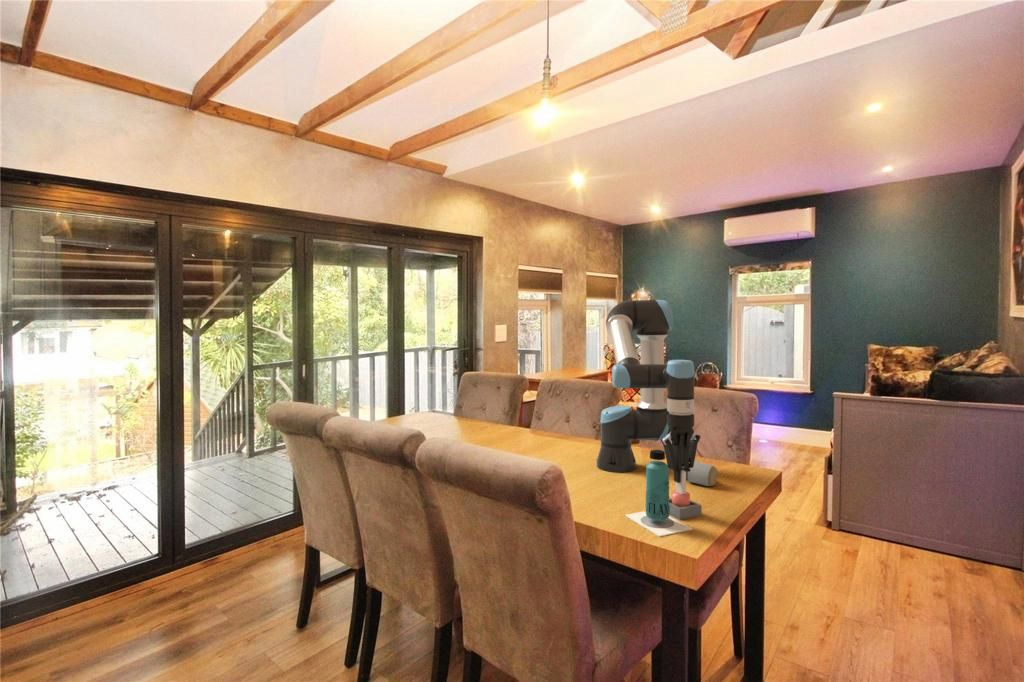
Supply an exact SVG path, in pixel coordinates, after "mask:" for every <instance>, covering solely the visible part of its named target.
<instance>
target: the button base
mask: <svg viewBox="0 0 1024 682" xmlns="http://www.w3.org/2000/svg"><path fill="white" fill-rule="evenodd" d="M669 502H670V512H669V513H670V514H669V516H671V517H672V518H673V517H674V519H676V520H678V521H680V520H685V519H690V518H695V517H699V516H702V514H703V513H702V504H701V503H698V502H696V501H694V500H692V499H690V506H685V507H678V506H676V505H674V504H672V497H669Z"/></svg>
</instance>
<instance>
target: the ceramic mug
mask: <svg viewBox="0 0 1024 682" xmlns="http://www.w3.org/2000/svg"><path fill="white" fill-rule="evenodd" d="M689 469H691V470H690V472H688V477H687V478H688V480H687V482H689V483H692V484H696V485H701V486H704V487H705V486H706V487H713V486H714V485H715V484H716V483H717V478H718V469H717V467H716V466H714V465H712V464H709V463H705V462H701V461H698V460H695V461H694V466H693V468H689Z"/></svg>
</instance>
